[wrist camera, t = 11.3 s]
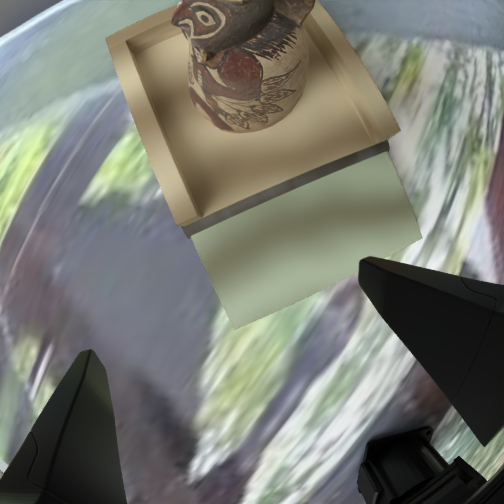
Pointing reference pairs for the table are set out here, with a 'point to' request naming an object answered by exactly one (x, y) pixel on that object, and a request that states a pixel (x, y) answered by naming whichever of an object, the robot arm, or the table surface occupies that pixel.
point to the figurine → (245, 59)
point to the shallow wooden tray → (271, 170)
